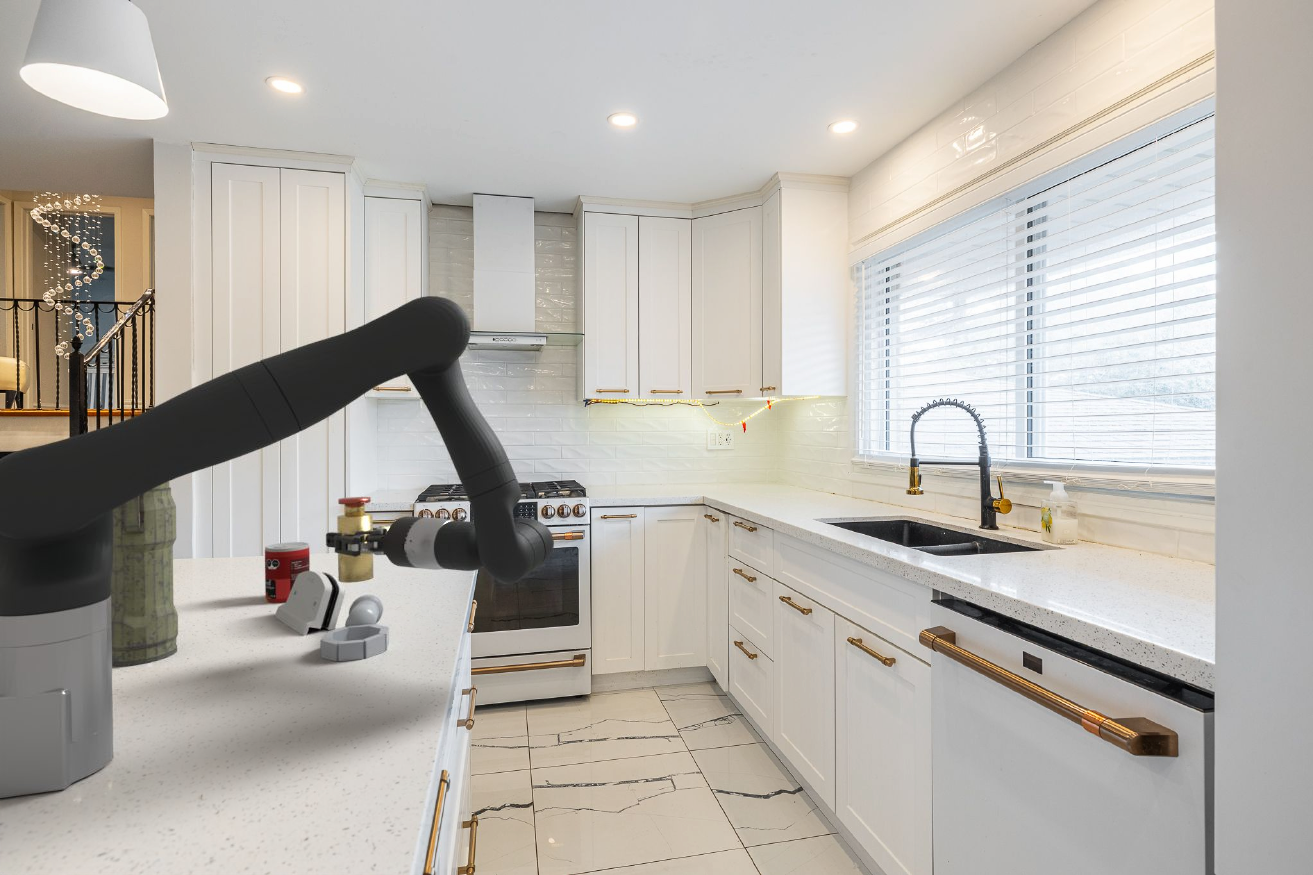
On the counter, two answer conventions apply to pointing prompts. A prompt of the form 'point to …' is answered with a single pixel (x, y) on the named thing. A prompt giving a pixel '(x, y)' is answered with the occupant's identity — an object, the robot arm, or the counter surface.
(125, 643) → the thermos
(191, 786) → the counter surface
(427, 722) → the counter surface
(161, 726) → the counter surface
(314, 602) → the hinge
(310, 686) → the counter surface
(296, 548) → the canned food
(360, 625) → the grey octagonal holder
